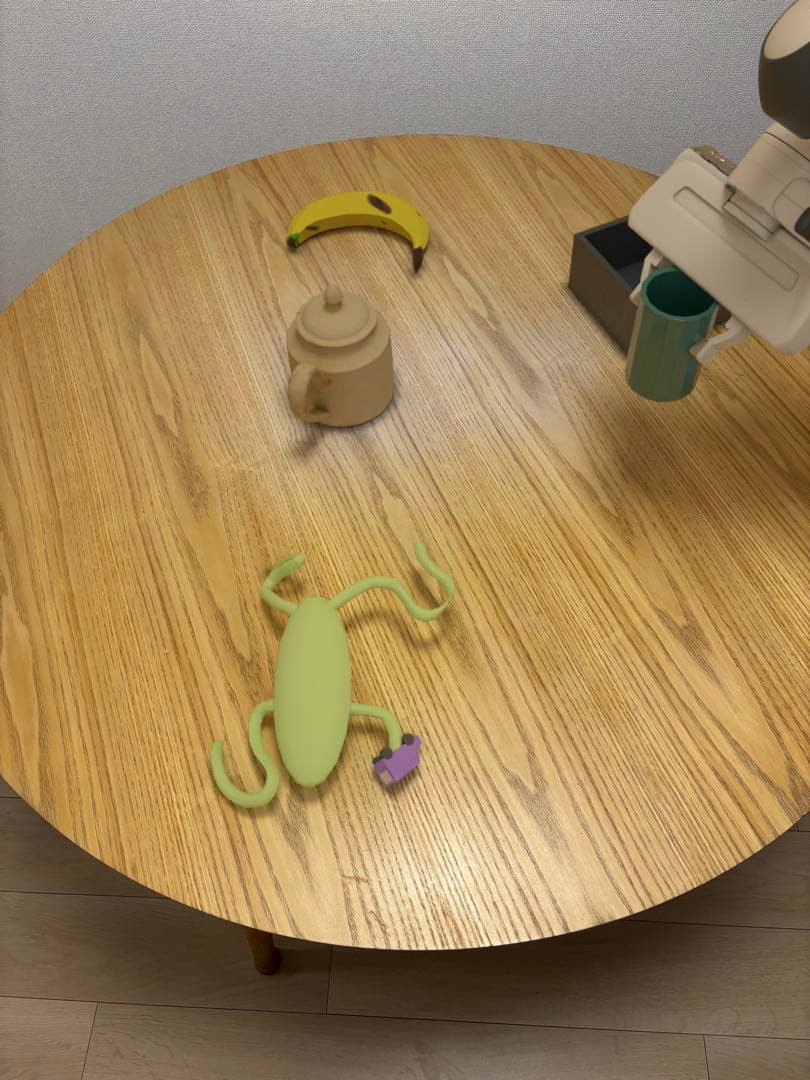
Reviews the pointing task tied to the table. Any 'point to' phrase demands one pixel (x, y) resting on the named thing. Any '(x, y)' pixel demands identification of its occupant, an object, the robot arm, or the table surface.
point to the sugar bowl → (339, 360)
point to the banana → (362, 218)
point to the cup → (668, 335)
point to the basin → (612, 276)
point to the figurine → (322, 688)
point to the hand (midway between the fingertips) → (666, 331)
